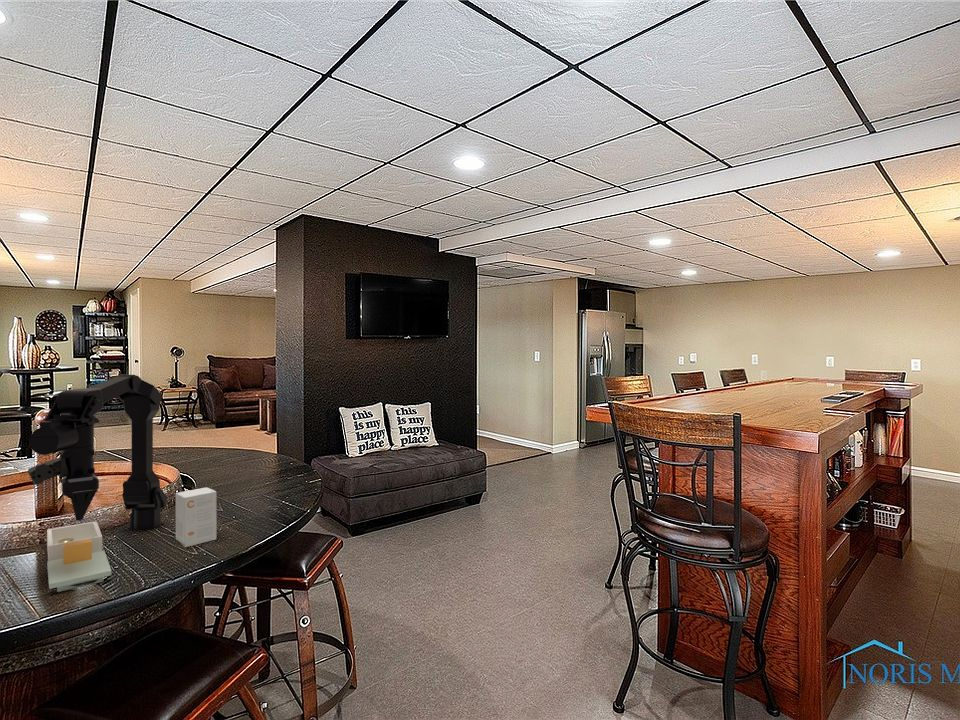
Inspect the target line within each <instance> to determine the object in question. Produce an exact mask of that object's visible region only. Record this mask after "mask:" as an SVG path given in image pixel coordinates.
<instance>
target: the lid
mask: <svg viewBox="0 0 960 720" xmlns="http://www.w3.org/2000/svg"><path fill="white" fill-rule="evenodd" d="M105 551H106V550H102V551H99V552H94V553H92V541H91V539H86V540H81V541H75V542H70V543H64V544H63V559H58V560H53V561H48V560H47V562H46V563H47V564H46V566H47V578H48V579H47V581H48V589H49V590H51V589H55V588H56V592H57V593H59V592H64V591H68V590H73V589H77V588H81V587H83V585H79V584H83V583H88V582H92V583H91V585H95V584H98V583H103V582H104V578H105V577H109V576H112V568H111V566H110V562H109V560H108V557H107V554H106V552H105ZM93 581H94V582H93Z"/></svg>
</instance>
